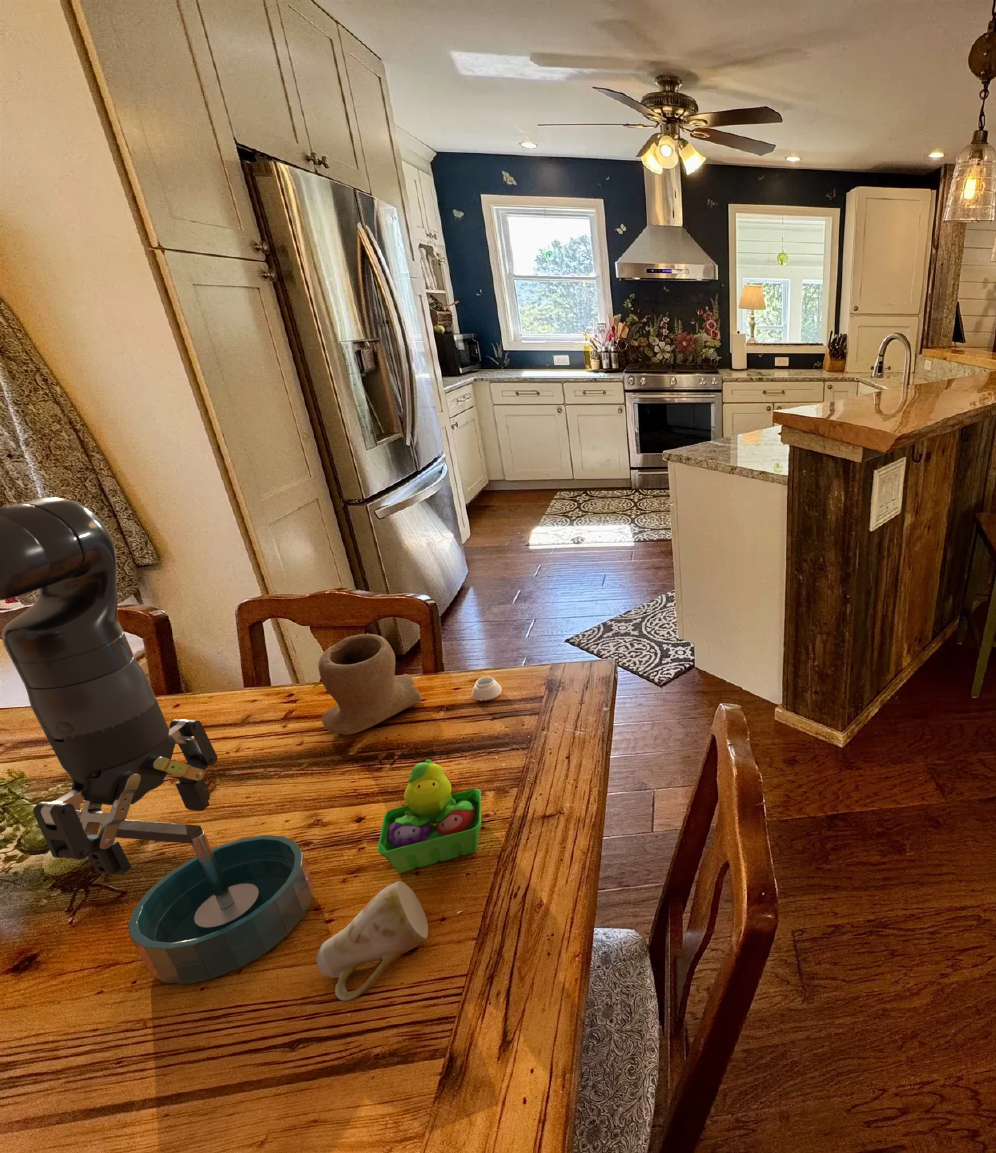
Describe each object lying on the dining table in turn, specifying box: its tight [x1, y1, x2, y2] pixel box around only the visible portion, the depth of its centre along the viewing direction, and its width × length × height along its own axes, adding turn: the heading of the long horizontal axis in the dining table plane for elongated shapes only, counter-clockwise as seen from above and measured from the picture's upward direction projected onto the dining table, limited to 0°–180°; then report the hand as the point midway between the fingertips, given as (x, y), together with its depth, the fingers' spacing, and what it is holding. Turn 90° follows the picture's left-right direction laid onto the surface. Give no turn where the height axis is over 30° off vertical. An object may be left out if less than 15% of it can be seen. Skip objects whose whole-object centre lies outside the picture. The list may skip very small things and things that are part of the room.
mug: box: [316, 880, 429, 1002], centre depth 65 cm, size 8×10×10 cm
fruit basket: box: [377, 759, 482, 874], centre depth 78 cm, size 11×9×11 cm
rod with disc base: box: [115, 818, 264, 937], centre depth 66 cm, size 12×6×13 cm, turn 86°
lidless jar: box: [471, 676, 503, 702], centre depth 111 cm, size 5×3×5 cm
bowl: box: [127, 834, 315, 985], centre depth 68 cm, size 14×14×6 cm
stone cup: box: [317, 633, 423, 736], centre depth 103 cm, size 15×12×15 cm
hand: (160, 838), depth 64 cm, fingers open, 8 cm apart
